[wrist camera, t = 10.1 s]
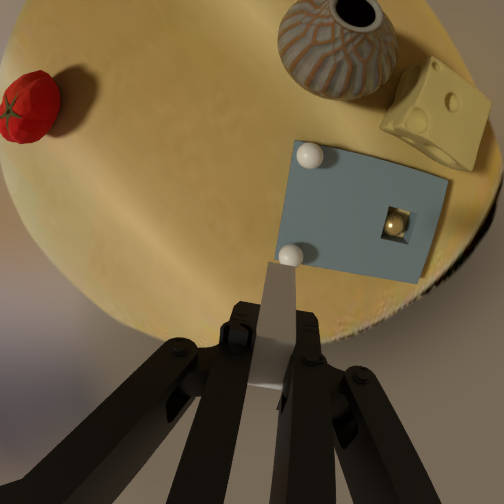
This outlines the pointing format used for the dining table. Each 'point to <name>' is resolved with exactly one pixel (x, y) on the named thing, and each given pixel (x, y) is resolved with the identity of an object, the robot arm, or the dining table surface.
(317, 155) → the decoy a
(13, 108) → the tomato
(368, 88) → the vase
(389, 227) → the ball
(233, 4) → the dining table surface
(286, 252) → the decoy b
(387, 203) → the plate
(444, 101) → the cheese
